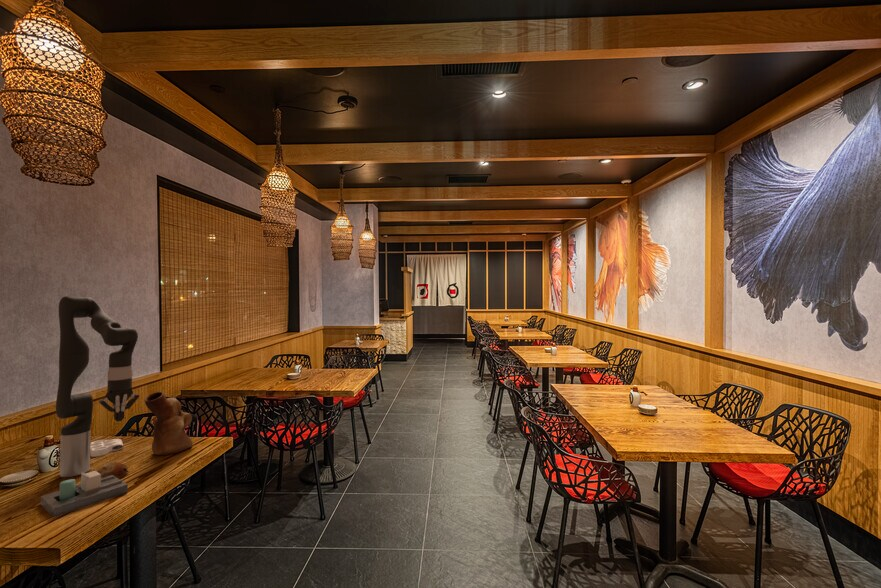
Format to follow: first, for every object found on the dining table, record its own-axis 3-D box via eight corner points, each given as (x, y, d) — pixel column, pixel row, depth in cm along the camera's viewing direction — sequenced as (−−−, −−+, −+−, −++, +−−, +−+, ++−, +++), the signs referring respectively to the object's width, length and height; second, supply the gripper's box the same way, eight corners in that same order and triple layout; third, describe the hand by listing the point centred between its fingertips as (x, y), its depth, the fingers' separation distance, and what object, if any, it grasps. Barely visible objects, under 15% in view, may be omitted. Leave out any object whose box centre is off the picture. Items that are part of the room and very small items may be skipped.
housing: (40, 504, 135) (40, 493, 135) (111, 482, 152) (112, 472, 152) (53, 517, 126) (53, 506, 126) (127, 492, 143) (127, 482, 143)
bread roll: (107, 482, 160) (97, 466, 159) (134, 468, 163) (125, 452, 162) (95, 492, 151) (85, 475, 150) (124, 477, 154) (114, 460, 153)
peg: (57, 505, 134) (58, 482, 134) (72, 500, 137) (73, 478, 138) (61, 508, 132) (61, 485, 132) (76, 503, 135) (76, 480, 136)
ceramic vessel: (199, 445, 191) (200, 386, 192) (158, 463, 170) (158, 396, 171) (175, 443, 195) (175, 384, 196) (131, 460, 174) (132, 394, 175)
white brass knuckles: (124, 451, 186) (83, 460, 175) (120, 442, 198) (82, 450, 188) (124, 444, 186) (83, 453, 175) (120, 436, 199) (82, 443, 188)
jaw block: (81, 488, 140) (81, 473, 140) (95, 484, 143) (95, 469, 144) (86, 492, 137) (86, 476, 137) (100, 487, 140) (100, 472, 140)
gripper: (136, 374, 159) (135, 415, 159) (95, 379, 148) (94, 423, 148) (143, 375, 155) (142, 418, 155) (102, 381, 144) (100, 427, 144)
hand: (118, 420), depth 151 cm, fingers closed
